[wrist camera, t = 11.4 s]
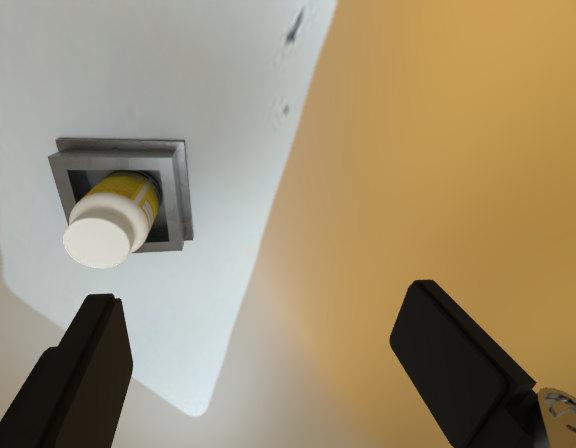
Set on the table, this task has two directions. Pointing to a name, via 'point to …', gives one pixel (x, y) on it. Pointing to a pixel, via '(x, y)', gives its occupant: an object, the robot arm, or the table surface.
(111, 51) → the table surface
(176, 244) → the socket
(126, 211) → the pill bottle
